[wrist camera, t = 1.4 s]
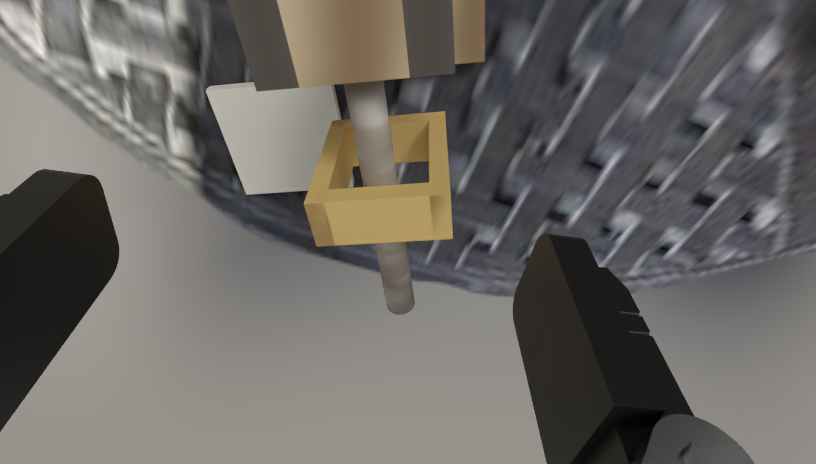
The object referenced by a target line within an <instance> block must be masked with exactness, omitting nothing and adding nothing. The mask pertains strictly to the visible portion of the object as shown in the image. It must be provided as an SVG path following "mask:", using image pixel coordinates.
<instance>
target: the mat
mask: <svg viewBox="0 0 816 464" xmlns="http://www.w3.org/2000/svg"><path fill="white" fill-rule="evenodd" d="M206 93H207V96H208V98H209V101H210V103H211V106H212V108H213V111H214V114H215V116H216V119H217V121H218V124H219V126H220V129H221V131H222V134H223V136H224V139H225V142H226V144H227V147H228V149H229V152H230V154H231V157H232V159H233V162H234V164H235V167H236V170H237V172H238V175H239V177H240V180H241V182H242V185H243V187H244V190H245V192H246V195H250V194H265V193H279V192H294V191H308V190H309V187H310V184H311V181H312V178H313V175H314V172H315V169H316V167H317V164H318V161H319V158H320V155H321V152H322V149H323V146H324V143H325V140H326V137H327V134H328V131H329V128H330V126H331V123H332V121H333V120H341V115H340V110H339V106H338V101H337V96H336V91H335V87H334V85H325V86H314V87H303V88H292V89H280V90H269V91H258V92H257V91H256V88H255V85H254V82H249V83H238V84H227V85H216V86H209V87H208V88H207V89H206ZM351 187H354V177H353V172H352V175H351V179H350V184H349V188H351Z"/></svg>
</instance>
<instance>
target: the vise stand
mask: <svg viewBox="0 0 816 464" xmlns="http://www.w3.org/2000/svg"><path fill="white" fill-rule="evenodd" d="M227 1H228V4H229V7H230V10H231V13H232V16H233V20H234V23H235V26H236V29H237V32H238V35H239V38H240V41H241V44H242V48H243V51H244V54H245V57H246V60H247V63H248V66H249V69H250V72H251V76H252V79H253V82H254V85H255V88H256V91H257V92H258V91H269V90H280V89H292V88H303V87H314V86H325V85H336V84H344V89H345V94H346V100H347V105H348V110H349V115H350V120H351V125H352V130H353V135H354V140H355V145H356V150H357V155H358V161H359V166H360V171H361V176H362V181H363V186H364V187H372V186H386V185H398V181H397V174H396V167H395V159H394V152H393V145H392V138H391V131H390V124H389V117H388V109H387V102H386V95H385V88H384V81H383V80H392V79H403V78H414V77H425V76H437V75H448V74H455V64H464V63H475V62H485V0H227ZM375 247H376V252H377V257H378V262H379V267H380V272H381V278H382V283H383V288H384V293H385V298H386V302H387V307H388V310H389V311H390V312H392V313H394V314H405V313H408V312H409V311H411V310H412V308H413V307H414V295H413V288H412V281H411V274H410V266H409V259H408V252H407V245H406V242H389V243H375Z"/></svg>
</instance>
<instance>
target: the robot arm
mask: <svg viewBox="0 0 816 464" xmlns="http://www.w3.org/2000/svg"><path fill="white" fill-rule="evenodd" d="M118 259H119V244H118V240H117V236H116V233H115V229H114V226H113V222H112V219H111V216H110V212H109V209H108V205H107V202H106V199H105V195H104V191H103V188H102V186H101V183H100V181H99V180H98V179H97V178H96V177H95V176H92V175H86V174H78V173H70V172H63V171H55V170H47V169H44V170H39V171H37V172H36V173H34V174H33V175H32V176H30V177H29V178H28V179H27V180H25V181H24V182H23V183H22V184H21V185H20V186H18V187H17V188H16V189H14V190H13V191H12V192H11V193H10V194H4V195H2V196H0V431H1V430H2V429H3V427H4V426H5V424H6V423H7V421H8V420H9V419H10V417H11V416H12V415H13V413H14V412H15V410H16V409H17V408H18V406H19V405H20V404H21V402H22V401H23V399H24V398H25V397H26V395H27V394H28V393H29V391H30V390H31V388H32V387H33V386H34V384H35V383H36V381H37V380H38V378H39V377H40V376H41V375H42V373H43V372H44V370H45V369H46V367H47V366H48V365H49V363H50V362H51V361H52V359H53V358H54V357H55V355H56V354H57V352H58V351H59V349H60V348H61V347H62V345H63V344H64V343H65V341H66V340H67V339H68V337H69V336H70V334H71V333H72V332H73V330H74V329H75V327H76V326H77V324H78V323H79V322H80V320H81V319H82V318H83V316H84V315H85V314H86V312H87V311H88V309H89V308H90V307H91V305H92V304H93V302H94V301H95V300H96V298H97V297H98V296H99V294H100V293H101V291H102V290H103V289H104V287H105V286H106V284H107V283H108V282H109V280H110V279H111V277H112V276H113V274H114V272H115V270H116V267H117V263H118ZM639 313H640V311H639V309H638V308H637V306H636V304H635V302H634V300H633V298H632V296H631V294H630V292H629V290H628V289H627V288H626V287H625V286H624V285H623V284H622V283H621V282H620V281H619V280H618V279H617V278H616V277H615V276H614V275H613V274H612V273H611V272H610V270H609V269H608V268H602V267H598V265H597V263H596V261H595V259H594V257H593V254H592V252H591V250H590V248H589V246H588V244H587V242H586V241H585V240H584V239H582V238H575V237H567V236H559V235H551V234H542V235H541V236H540V237H539V238H538V240H537V241H536V244H535V246H534V248H533V251H532V253H531V255H530V258H529V260H528V263H527V265H526V267H525V270H524V272H523V275H522V277H521V279H520V282H519V284H518V287H517V289H516V292H515V296H514V302H513V320H514V325H515V329H516V333H517V338H518V342H519V346H520V350H521V355H522V359H523V363H524V367H525V371H526V376H527V380H528V385H529V389H530V393H531V398H532V402H533V406H534V410H535V415H536V419H537V423H538V428H539V432H540V436H541V440H542V445H543V449H544V453H545V457H546V462H547V464H755V463H754V462H753V461H752V459H751V458H750V456H749V455H748V454H747V453H746V452H745V451H744V449H743V448H742V447H741V446H740V445H739V444H738V443H737V442H736V441H734V440H733V439H732V438H731V437H730V436H729V435H727V434H726V433H725V432H723V431H722V430H720V429H719V428H718V427H716V426H714V425H712V424H711V423H709V422H707V421H704V420H702V419H700V418H697V417H695V416H694V415H693V413H692V411H691V409H690V407H689V405H688V403H687V402H686V400H685V398H684V396H683V394H682V392H681V390H680V388H679V386H678V384H677V382H676V380H675V379H674V377H673V375H672V373H671V371H670V369H669V367H668V365H667V363H666V361H665V360H664V357H663V356H662V354H661V352H660V350H659V348H658V346H657V344H656V342H655V340H654V338H653V337H652V336H649V332H650V331H649V329H648V327H647V325H646V323H645V321H644V319H643V317H641V316H639Z"/></svg>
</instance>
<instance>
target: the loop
mask: <svg viewBox="0 0 816 464" xmlns="http://www.w3.org/2000/svg"><path fill="white" fill-rule="evenodd" d="M388 117H389V124H390V131H391V138H392V145H393V152H394V159H395V163H407V162H421V161H429V183H415V184H401V185H386V186H372V187H357V188H349V184H350V179H351V175H352V170H353V166H359V161H358V155H357V150H356V145H355V140H354V135H353V130H352V125H351V120H350V119H346V120H333V121H332V123H331V126H330V128H329V131H328V134H327V137H326V140H325V143H324V146H323V149H322V152H321V155H320V158H319V161H318V164H317V167H316V169H315V172H314V175H313V178H312V181H311V184H310V187H309V190H308V193H307V196H306V199H305V202H304V207H305V210H306V213H307V216H308V220H309V223H310V226H311V230H312V233H313V236H314V240H315V243H316V246H317V247H321V246H338V245H355V244H372V243H389V242H406V241H424V240H441V239H453V230H452V212H451V194H450V179H449V164H448V150H447V135H446V120H445V111H442V112H430V113H418V114H406V115H394V116H388Z"/></svg>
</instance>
